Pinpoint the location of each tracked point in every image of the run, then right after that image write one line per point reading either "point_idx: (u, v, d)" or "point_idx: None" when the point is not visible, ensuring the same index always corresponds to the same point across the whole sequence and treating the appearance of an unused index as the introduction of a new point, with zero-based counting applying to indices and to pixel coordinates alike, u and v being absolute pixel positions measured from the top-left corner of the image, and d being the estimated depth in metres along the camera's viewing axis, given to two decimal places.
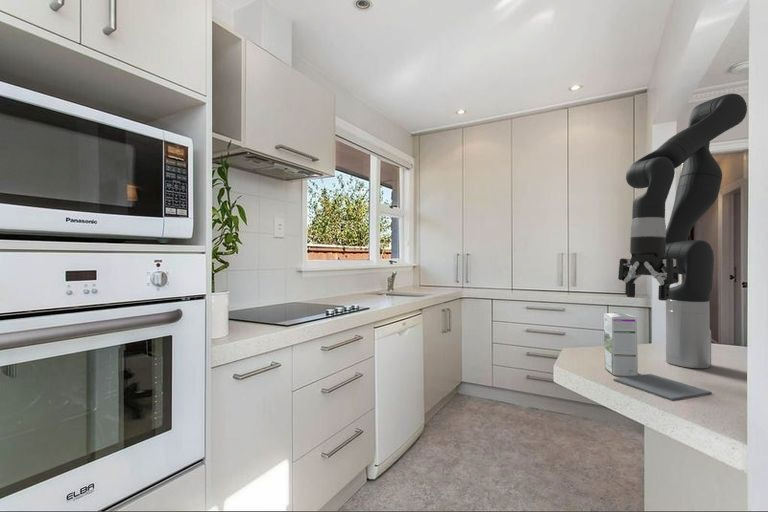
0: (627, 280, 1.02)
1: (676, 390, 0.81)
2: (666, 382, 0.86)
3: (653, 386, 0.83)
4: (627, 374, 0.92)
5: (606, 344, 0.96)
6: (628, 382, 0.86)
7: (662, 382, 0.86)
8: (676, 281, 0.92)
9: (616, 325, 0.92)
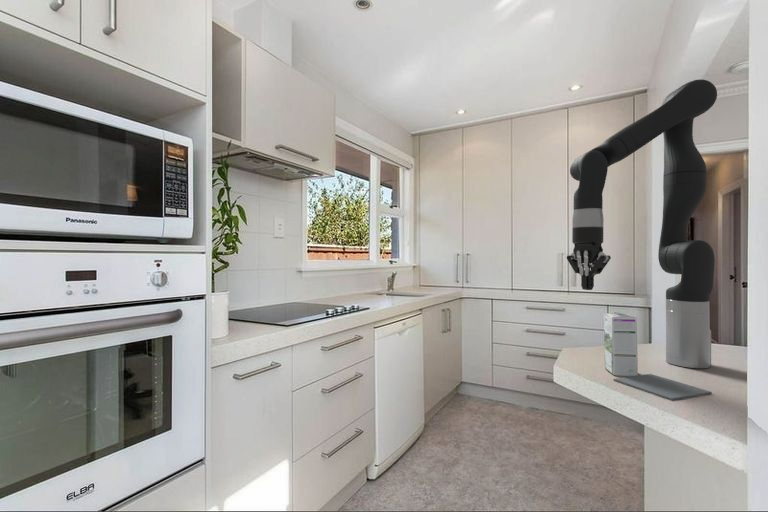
0: (582, 273, 1.04)
1: (676, 390, 0.81)
2: (666, 382, 0.86)
3: (653, 386, 0.83)
4: (627, 374, 0.92)
5: (606, 344, 0.96)
6: (628, 382, 0.86)
7: (662, 382, 0.86)
8: (597, 273, 1.02)
9: (616, 325, 0.92)
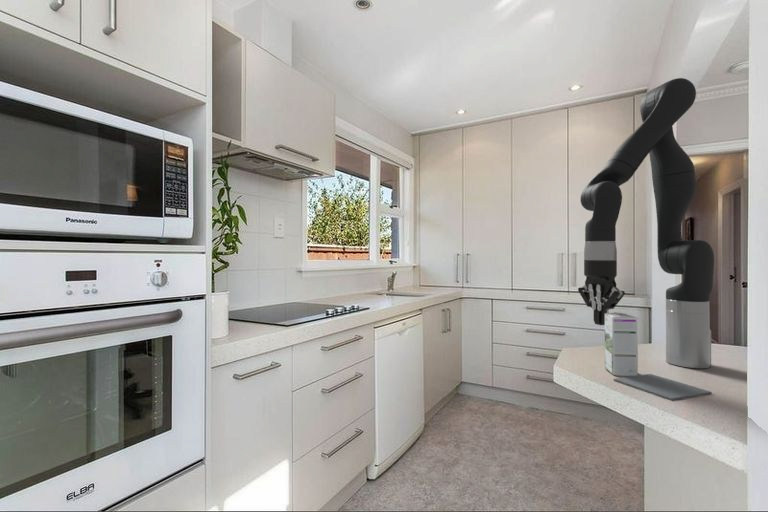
0: (595, 307, 1.00)
1: (676, 390, 0.81)
2: (666, 382, 0.86)
3: (653, 386, 0.83)
4: (627, 374, 0.92)
5: (606, 344, 0.96)
6: (628, 382, 0.86)
7: (662, 382, 0.86)
8: (611, 308, 0.98)
9: (616, 325, 0.92)
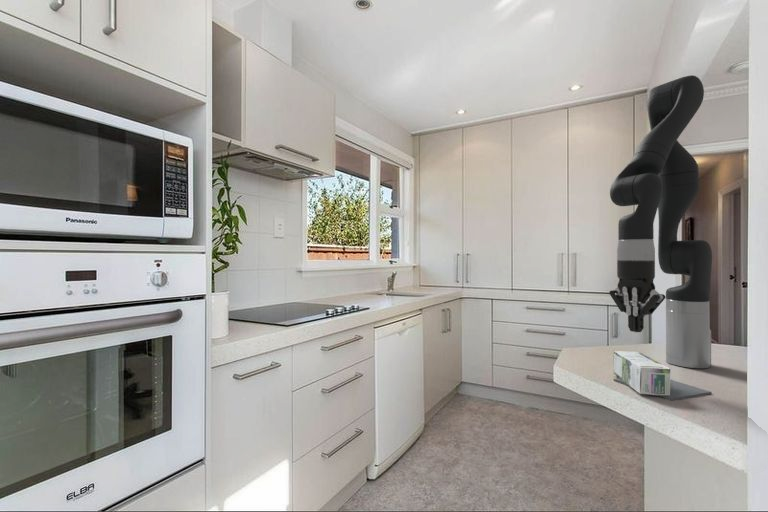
0: (630, 312, 0.91)
1: (676, 390, 0.81)
2: None
3: None
4: None
5: (624, 365, 0.86)
6: None
7: None
8: None
9: None
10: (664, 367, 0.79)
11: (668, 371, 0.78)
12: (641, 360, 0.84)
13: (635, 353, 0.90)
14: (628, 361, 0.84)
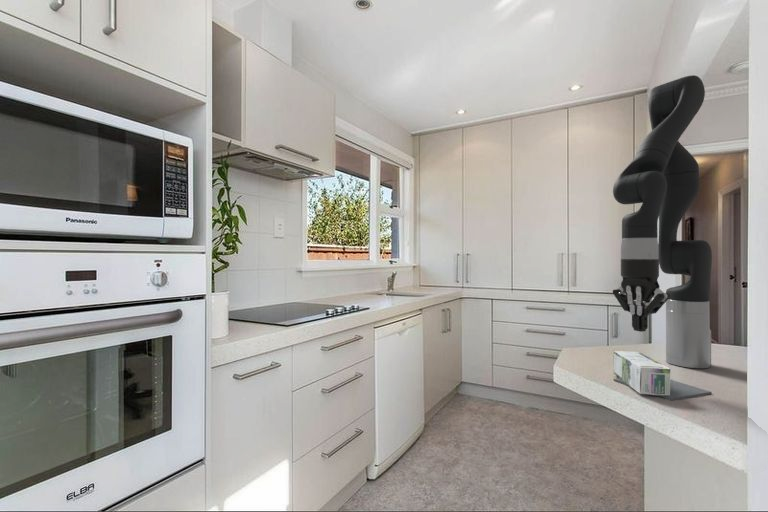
0: (634, 312, 0.90)
1: (676, 390, 0.81)
2: None
3: None
4: None
5: (624, 365, 0.86)
6: None
7: None
8: (653, 313, 0.87)
9: None
10: (664, 367, 0.79)
11: (668, 371, 0.78)
12: (641, 360, 0.84)
13: (635, 353, 0.90)
14: (628, 361, 0.84)
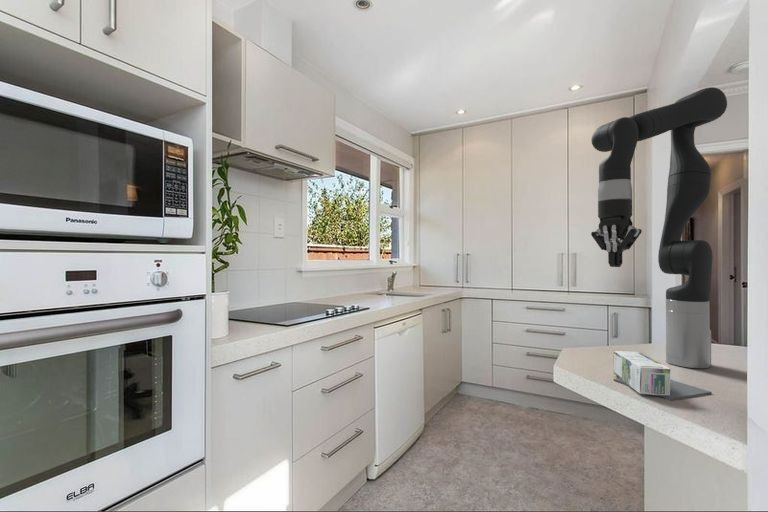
0: (610, 249, 0.98)
1: (676, 390, 0.81)
2: None
3: None
4: None
5: (624, 365, 0.86)
6: None
7: None
8: (627, 248, 0.95)
9: None
10: (664, 367, 0.79)
11: (668, 371, 0.78)
12: (641, 360, 0.84)
13: (635, 353, 0.90)
14: (628, 361, 0.84)
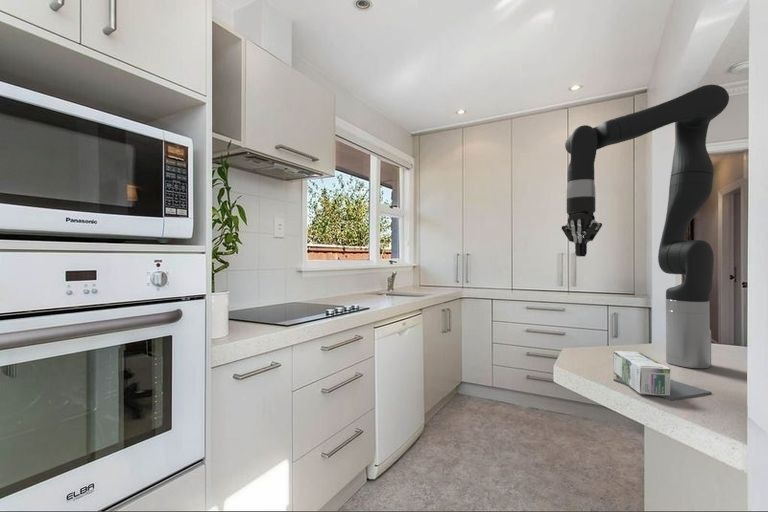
0: (576, 241, 1.11)
1: (676, 390, 0.81)
2: None
3: None
4: None
5: (624, 365, 0.86)
6: None
7: None
8: (590, 240, 1.09)
9: None
10: (664, 367, 0.79)
11: (668, 371, 0.78)
12: (641, 360, 0.84)
13: (635, 353, 0.90)
14: (628, 361, 0.84)
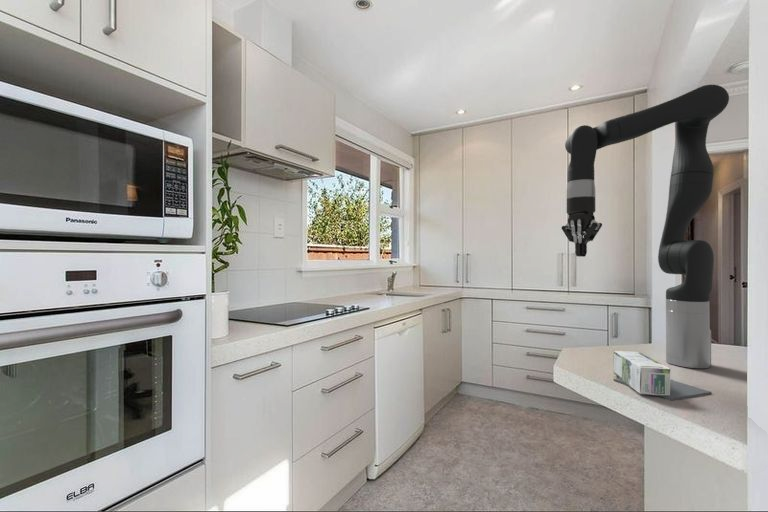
0: (576, 241, 1.11)
1: (676, 390, 0.81)
2: None
3: None
4: None
5: (624, 365, 0.86)
6: None
7: None
8: (590, 240, 1.09)
9: None
10: (664, 367, 0.79)
11: (668, 371, 0.78)
12: (641, 360, 0.84)
13: (635, 353, 0.90)
14: (628, 361, 0.84)
